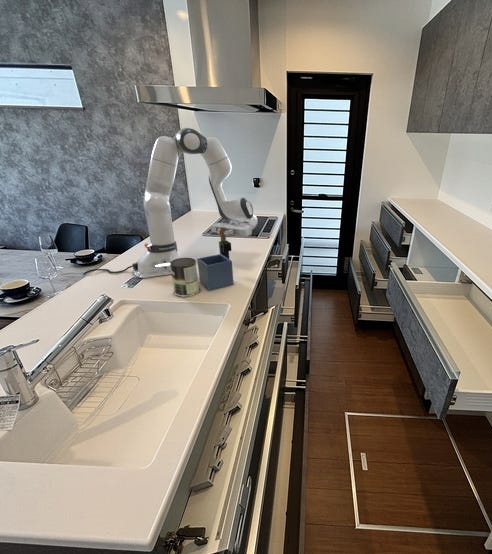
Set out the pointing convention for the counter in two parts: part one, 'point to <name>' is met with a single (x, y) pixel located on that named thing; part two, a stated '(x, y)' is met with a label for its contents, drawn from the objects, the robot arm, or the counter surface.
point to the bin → (215, 271)
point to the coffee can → (184, 276)
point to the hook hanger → (224, 244)
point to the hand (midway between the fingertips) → (221, 232)
